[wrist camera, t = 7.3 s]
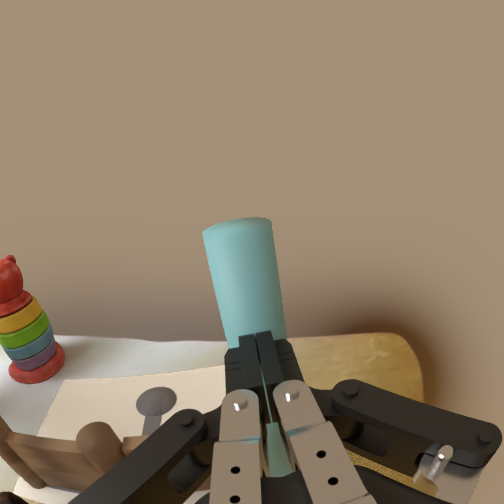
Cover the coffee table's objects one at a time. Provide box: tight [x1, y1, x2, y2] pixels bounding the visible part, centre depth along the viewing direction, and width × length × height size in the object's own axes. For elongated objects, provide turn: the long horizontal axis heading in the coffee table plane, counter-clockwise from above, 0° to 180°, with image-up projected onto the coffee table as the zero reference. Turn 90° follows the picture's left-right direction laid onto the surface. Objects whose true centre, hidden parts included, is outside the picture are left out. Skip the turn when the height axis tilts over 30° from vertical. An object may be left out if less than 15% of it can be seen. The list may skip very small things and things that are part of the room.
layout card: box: [13, 365, 226, 504], centre depth 25 cm, size 29×20×1 cm
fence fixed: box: [0, 416, 126, 491], centre depth 17 cm, size 15×3×8 cm, turn 96°
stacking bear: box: [0, 255, 65, 383], centre depth 34 cm, size 11×10×18 cm
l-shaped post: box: [122, 217, 292, 491], centre depth 16 cm, size 12×3×20 cm, turn 102°
